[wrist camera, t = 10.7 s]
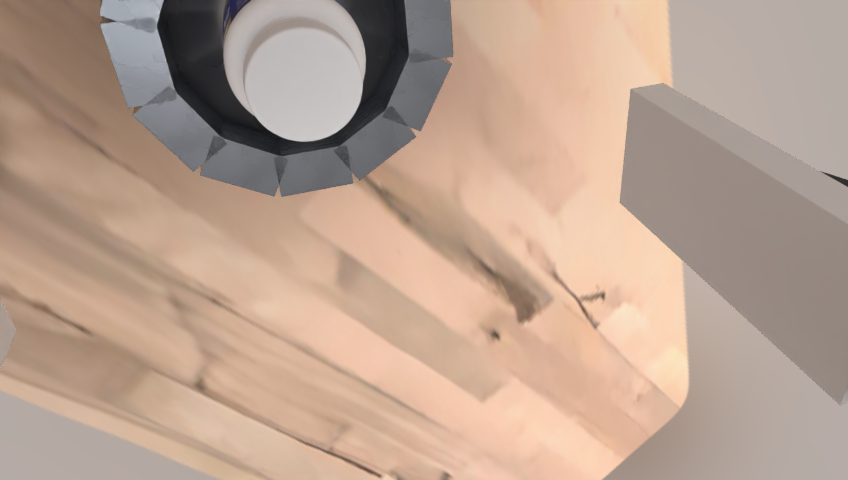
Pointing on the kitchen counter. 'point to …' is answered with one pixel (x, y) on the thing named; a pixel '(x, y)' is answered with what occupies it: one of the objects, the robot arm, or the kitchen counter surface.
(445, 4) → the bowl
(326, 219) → the kitchen counter surface
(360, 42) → the pill bottle
